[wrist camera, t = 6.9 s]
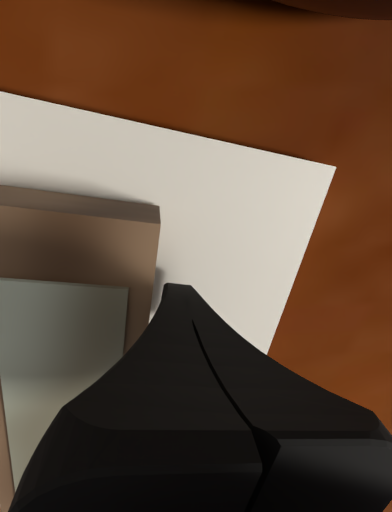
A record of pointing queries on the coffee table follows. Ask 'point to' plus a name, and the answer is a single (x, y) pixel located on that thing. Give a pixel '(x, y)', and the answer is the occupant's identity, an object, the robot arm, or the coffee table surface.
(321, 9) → the round tray
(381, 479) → the robot arm
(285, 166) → the wall board
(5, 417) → the frame
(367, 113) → the coffee table surface
